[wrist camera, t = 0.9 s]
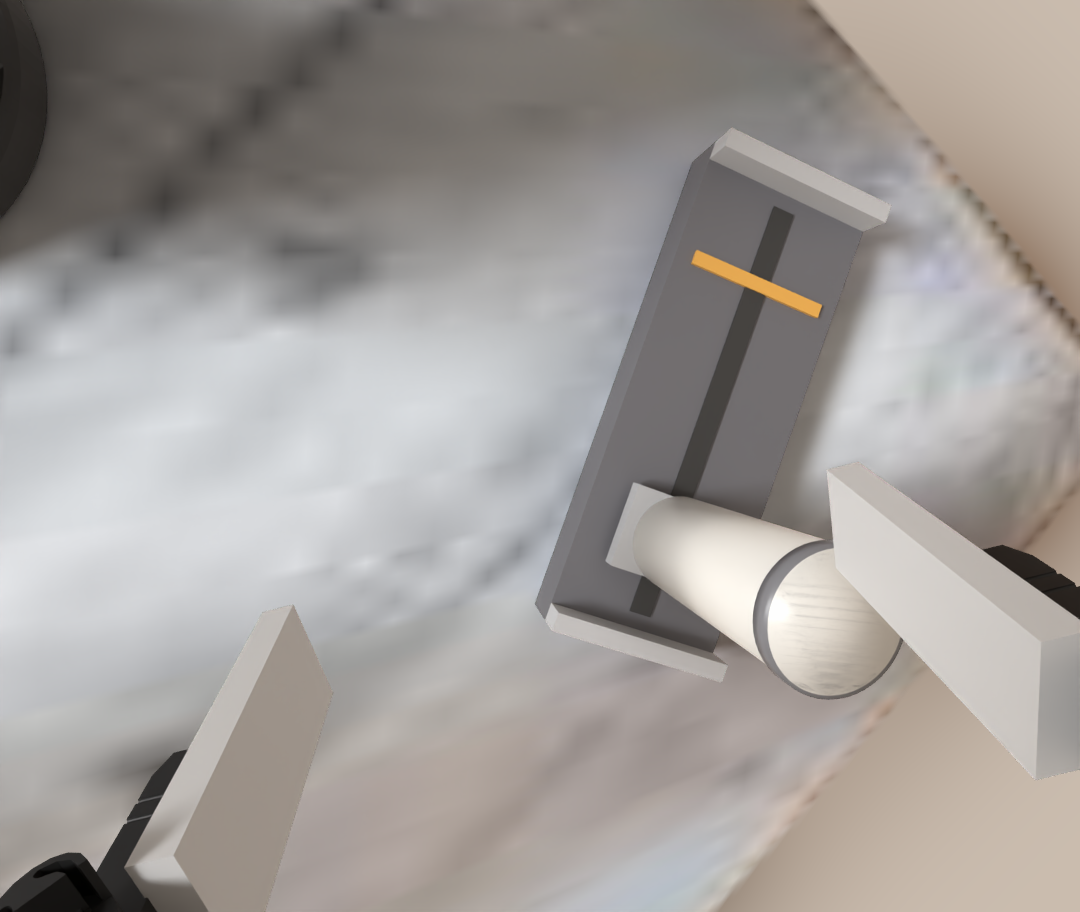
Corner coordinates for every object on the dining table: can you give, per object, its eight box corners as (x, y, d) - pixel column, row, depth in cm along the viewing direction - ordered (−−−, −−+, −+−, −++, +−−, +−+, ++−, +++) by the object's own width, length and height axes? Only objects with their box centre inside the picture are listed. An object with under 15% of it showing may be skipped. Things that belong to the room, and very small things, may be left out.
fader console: (685, 650, 33) (721, 682, 29) (534, 603, 32) (552, 631, 28) (835, 229, 33) (891, 205, 29) (692, 162, 32) (731, 127, 28)
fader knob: (704, 601, 30) (887, 720, 18) (602, 567, 29) (728, 671, 17) (736, 512, 30) (939, 575, 18) (635, 475, 29) (783, 518, 17)
